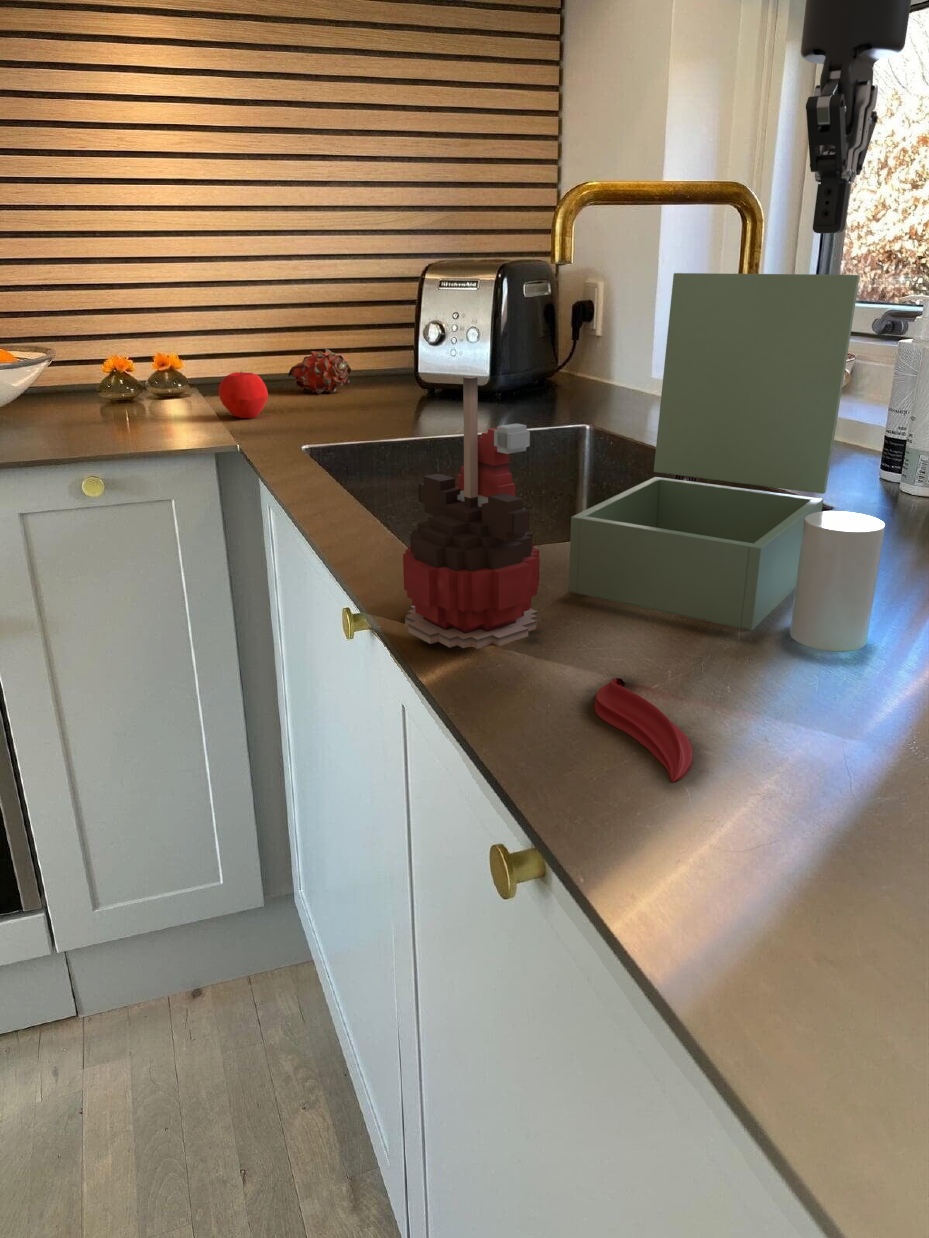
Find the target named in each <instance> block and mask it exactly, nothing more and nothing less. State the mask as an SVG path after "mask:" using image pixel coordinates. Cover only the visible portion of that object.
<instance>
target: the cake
mask: <svg viewBox="0 0 929 1238" xmlns="http://www.w3.org/2000/svg"><path fill="white" fill-rule="evenodd" d="M462 380H463V383H462V387H463V389H462V391H463V392H462V393H463V395H462V399H463V407H462V408H463V465H461V466H460V474H459V473H458V474H457V486H456V478H455V477H452V476H448V475H445V474H442V473H434V474H428V475H424V476H423V482H419V483H418V503H422V504H423V507H424V509H423V510H424V513H425V514H428V515H431V516H429V517H427V520H426V521H421V522H417V528H416V529H412V532H411V533H410V534H409V537H410V538H409V539H410V541H409V542H410V545H407V549H405V553H403V554H402V564H403V565H402V567H403V568H402V569H403V590H404V591H405V592H406V598H407V599H410V600H411V601H412V602H411V603H412V605H410V606H409V610H407V615H405V616H404V623H405V624H404V625H405V626H407V632H408V633H409V634H410V635H412V636H414V637H417V638H418V639H419V640H422V641H424V642H426V643H428V644H430V645H432V644H435V643H440V644H442V645H444V646H446V647H447V648H452V647H457V646H458V647H460V648H462V649H465V648H466V649H467V648H469V647H473V648H475V649H477V650H478V649H481V648H484V647H487V646H489V645H491V644H494V645H496V646H498V647H499V646H503V645H506V644H510V643H513V642H516V641H518V640H521V639H524V638H528V637H529V632H531V631H534V630H537V624H538V618H539V617H538V616H539V611H538V610H536V609H533V604H532V597H533V596H537V595H538V591H539V590H538V589H539V588H538V587H539V582H540V549H537V548H535V547H534V545H535V544H534V543H533V533H532V532H529V531H530V526H531V525H530V522H531V519H530V515H531V514H530V513H531V511H530V510H529V509H526V508H524V498H522V497H520V496H516V483H513V473H512V472H510V454H515V453H516V454H517V453H521V452H526V451H527V448H528V447H530V446H531V445H530V444H531V432H530V430H527V429H528V428H527V427H528V426H527V424H522V423H510V424H504V425H498V426H497V427H493V428H487V431H484V432H481V436H479V434H478V433H479V430H478V429H479V427H478V426H479V425H478V422H479V417H478V415H479V414H478V413H479V412H478V411H479V409H478V408H479V407H478V406H479V404H478V402H479V401H478V397H479V396H478V391H479V390H478V386H479V383H478V381H479V380H478V376H472V375H471V376H464V377H463V378H462Z"/></svg>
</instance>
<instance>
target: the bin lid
mask: <svg viewBox="0 0 929 1238" xmlns="http://www.w3.org/2000/svg"><path fill="white" fill-rule="evenodd" d="M860 279H861V275H859V274H815V273H814V274H813V273H812V274H811V273H807V274H806V273H803V274H802V273H714V272H713V273H712V272H711V273H708V272H707V273H704V272H703V273H701V272H699V273H698V272H673V277H672V286H671V296H670V307H669V315H668V327H667V335H666V337H667V338H666V344H665V345H666V346H665V347H666V348H665V354H664V355H665V357H664V366H663V374H662V384H661V394H660V403H659V404H660V405H659V413H658V414H659V415H658V424H657V435H656V443H655V454H654V464H653V473H659V474H665V475H666V474H668V475H672V476H673V475H674V476H681V477H682V476H683V477H689V478H696V479H703V480H704V479H705V480H712V481H721V482H729V483H736V484H743V485H744V484H745V485H750V486H751V485H752V486H760V487H765V488H766V487H767V488H775V489H782V490H783V489H784V490H789V491H790V490H791V491H798V492H806V493H814V494H821V495H823V494H826V492H827V487H828V480H829V474H830V467H831V461H832V455H833V449H834V443H835V436H836V430H837V423H838V417H839V409H840V404H841V398H842V392H843V386H844V385H843V384H844V380H845V379H844V378H845V373H846V367H847V366H846V365H847V360H848V354H849V347H850V340H851V333H852V327H853V323H854V322H853V321H854V316H855V309H856V302H857V297H858V291H859V285H860V284H859V283H860Z"/></svg>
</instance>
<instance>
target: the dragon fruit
mask: <svg viewBox="0 0 929 1238" xmlns="http://www.w3.org/2000/svg"><path fill="white" fill-rule="evenodd" d="M324 351H325V352H323V351H321V350H319V351H317V350H315V351H313V350H311V351H310V352H309V353H310V355H308V356H305V357H303V360H302V361H301V362H298V363H297V364H295V365H293V366H292V367H291V368H290V370H289V371H288V374H287V377H288V378H290V377H293V378H295V379H296V380H295V381H294V384H295V386H296V387H298V388H299V389H302V391H304V392H309V393H316V394H318V395H321V394H322V393H323V392H324V391H327V392H328V393H331V394H335V393H336V392H337V391H338V389H337V387H338V385H339V386H341V387H345V386H348V384H350V382H351V381H350V379H349V378H348V377H349V375H350V374H351V372H352V369H351V367H350V366H349V363H348V362H347V361H346V360H345V359H344V357H343V356H342V355H340V354H336V353H335V352H333V351H331V350H330V349H326V348H325V349H324Z"/></svg>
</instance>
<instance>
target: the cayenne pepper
mask: <svg viewBox="0 0 929 1238" xmlns="http://www.w3.org/2000/svg"><path fill="white" fill-rule="evenodd" d="M594 711H595V713H596V715H597V716H598V717H599V718H600V719H602V720H603V721H604V722H606V723H608V724H610V726H613V727H614V728H616V729H619V730H621V731H622V732H624V733H626V734H627V735H629V736H631V737H632V738H633V739H634V740H636V741H637V742H639V743H640V744H641V746H643V747H644V748H646V749H647V750H648V751H649V752H650V753H651V754H652V755H653V756H654V757H655V758H656V759H657V760H658V761H659V762H660V763H661V764H662V766H663V767H664V768H665V769H666V770H667V772H668V775H669V779H670V781H671V782H672V783H674V782H677V781H679V780H681V779H683V778H684V777H685V776H686V775H687V774H688V772H689V771H690V770H691V768H692V763H693V762H692V761H693V749H692V745H691V742H690V740H689V738H688V737H687V735H686V734H685V733H684V732H683V731H682V730H681V729H680V728H679V727H678V726H677V725H676V724H675V723H674V722H672V721H671V720H670V719H669V718H668V716H666V714H665V713H664V712H662V710H660V709H659V708H658V707H657V706H655V705H654V704H653V703H651V702H650V701H649V700H647V699H646V698H644V697H642V696H641V695H640V694H637V693H636V692H635V691H634V692H633V691H631V690H630V689H628V688H627V687H625V680H623V679H622V678H619V677H616V678H613V679H611V680H610V682H609V683H606V684H605V685H604V686H602V687H600V688H599V690H598V691H597V692H596V694H595V702H594Z"/></svg>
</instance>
